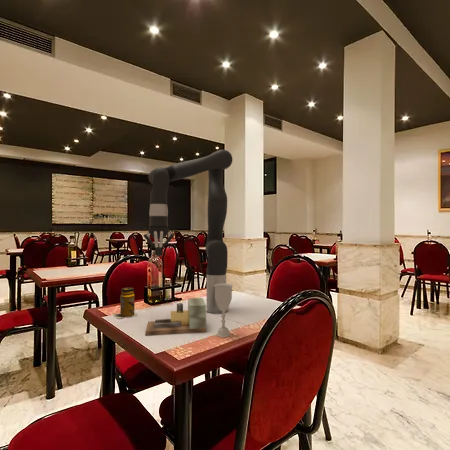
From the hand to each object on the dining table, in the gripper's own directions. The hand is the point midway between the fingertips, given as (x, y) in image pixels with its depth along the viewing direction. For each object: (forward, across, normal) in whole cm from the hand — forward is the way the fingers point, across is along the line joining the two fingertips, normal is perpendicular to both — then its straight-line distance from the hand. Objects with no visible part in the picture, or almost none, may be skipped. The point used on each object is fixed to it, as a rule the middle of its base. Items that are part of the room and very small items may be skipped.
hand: (158, 256), depth 130 cm
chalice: (+27, -24, +22) cm, 42 cm away
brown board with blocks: (+27, -7, +12) cm, 30 cm away
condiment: (+27, +15, -10) cm, 33 cm away
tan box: (+25, -10, +12) cm, 30 cm away
